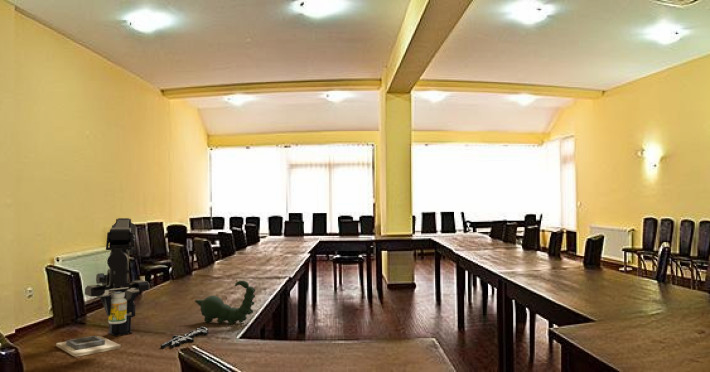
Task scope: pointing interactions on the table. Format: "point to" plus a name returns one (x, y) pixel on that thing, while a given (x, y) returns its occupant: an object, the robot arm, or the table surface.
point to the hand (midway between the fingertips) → (117, 314)
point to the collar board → (87, 345)
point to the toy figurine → (227, 307)
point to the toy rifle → (185, 338)
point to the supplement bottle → (118, 308)
